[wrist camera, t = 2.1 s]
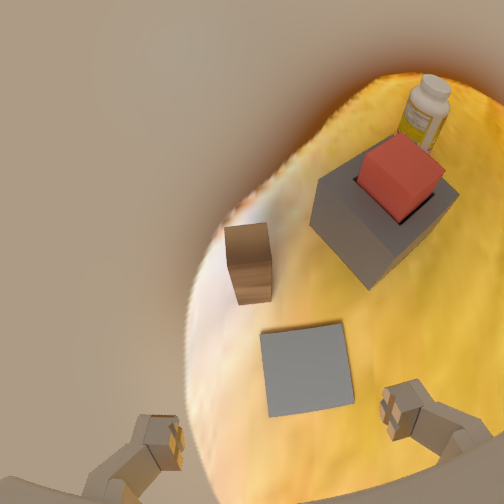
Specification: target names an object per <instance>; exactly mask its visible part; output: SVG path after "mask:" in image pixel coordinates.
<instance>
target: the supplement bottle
mask: <svg viewBox="0 0 504 504" xmlns="http://www.w3.org/2000/svg"><path fill="white" fill-rule="evenodd" d="M450 93H451V87H450V86H449V84H448V83H447V82H445V81H444V80H443V79H441V78H439V77H437V76H435V75H431V74H425V75H423V77H422V80H421V86H416V87H414V88H413V89H412V90H411V92H410V95H409V98H408V101H407V104H406V107H405V110H404V113H403V116H402V119H401V122H400V125H399V127H398V130H397V135H398V134H399V133H401V132H402V133H403V134H404V135H406V136H407V137H408V138H409V139H411V140H412V141H413V142H414V143H415V144H417V145H418V146H419V147H420V148H421V149H422V150H424V151H425V152H426V153H429V152H430V151H431V149H432V148H433V146H434V144H435V142H436V139H437V137H438V135H439V133H440V131H441V129H442V127H443V125H444V122H445V120H446V118H447V116H448V114H449V111H450V105H449V102H448V100H447V98H448V97H449V95H450Z"/></svg>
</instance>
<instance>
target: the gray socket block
mask: <svg viewBox="0 0 504 504" xmlns="http://www.w3.org/2000/svg"><path fill="white" fill-rule="evenodd" d="M393 137H394V135H391V136H389V137H388V138H386V139H384V140H383V141H381V142H379V143H378V144H376V145H374V146H373V147H371V148H369V149H368V150H366V151H364V152H363V153H361V154H359V155H358V156H356V157H355V158H353V159H351V160H350V161H348V162H346V163H345V164H343V165H341V166H340V167H338V168H337V169H335V170H333V171H332V172H330V173H329V174H327V175H325V176H324V177H322V178H320V179H319V180H318V185H317V190H316V195H315V200H314V205H313V210H312V215H311V219H310V224H309V225H310V226H311V227H312V228H313V229H314V230H315V232H316V233H317V234H318V235H319V236H320V237H321V238H322V239H323V240H324V241H325V242H326V243H327V244H328V246H329V247H330V248H331V249H332V250H333V251H334V252H335V253H336V254H337V255H338V256H339V258H340V259H341V260H342V261H343V262H344V263H345V264H346V265H347V266H348V268H349V269H350V270H351V271H352V272H353V273H354V274H355V275H356V276H357V278H358V279H359V280H360V281H361V282H362V283H363V284H364V286H365V287H366V288H367V289H368V290H370V289H371V288H372V287H374V286H375V285H376V284H377V283H378V282H379V281H380V280H381V279H382V278H384V277H385V276H386V275H387V274H388V273H389V272H390V271H391V270H392V269H393V268H394V267H395V266H397V265H398V264H399V263H400V262H401V261H402V260H403V259H404V258H405V257H406V256H407V255H408V254H409V253H410V252H411V251H412V250H413V249H414V248H415V247H416V246H418V245H419V244H420V243H421V242H422V241H423V240H424V239H425V238H426V237H427V236H428V235H429V234H430V233H431V231H432V230H433V229H434V228H435V226H436V225H437V224H438V223H439V221H440V220H441V219H442V217H443V216H444V215H445V214H446V212H447V211H448V210H449V208H450V207H451V206H452V204H453V203H454V202H455V200H456V199H457V198H458V196H459V195H460V194H459V193H458V192H457V191H456V190H455V189H454V188H453V187H451V186H450V185H449V184H448V183H447V182H446V181H445V180H444V179H443V178H442V177H441V179H440V180H439V182H438V184H437V185H436V187H435V188H434V190H433V191H432V193H431V195H430V196H429V198H428V199H427V200H426V201H425V202H424V203H422V204H421V205H420V206H419V207H418V208H417V209H416V210H415V211H413V212H412V213H411V214H410V215H409V216H408V217H407V218H406V219H404V220H403V221H402V222H401V223H400V224H398V223H397V222H396V221H395V220H394V219H393V218H392V217H391V216H390V215H389V214H388V213H387V212H386V211H385V210H384V209H383V208H382V207H381V206H380V205H379V204H378V203H377V202H376V201H375V200H374V199H373V198H372V197H370V196H369V195H368V194H367V193H366V192H365V191H364V190H363V189H362V188H361V187H360V186H359V185H358V184H357V183H356V182H357V179H358V176H359V173H360V170H361V167H362V164H363V161H364V158H365V155H366V154H367V153H368V152H370V151H372V150H373V149H375V148H376V147H378V146H380V145H381V144H383V143H385V142H386V141H388V140H390V139H391V138H393Z"/></svg>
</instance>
